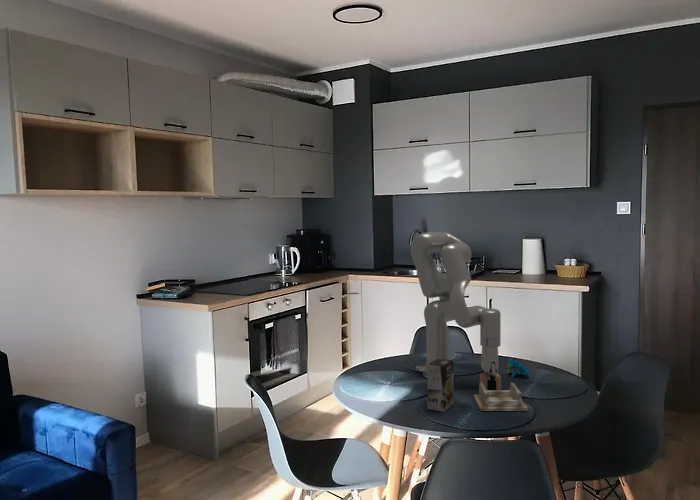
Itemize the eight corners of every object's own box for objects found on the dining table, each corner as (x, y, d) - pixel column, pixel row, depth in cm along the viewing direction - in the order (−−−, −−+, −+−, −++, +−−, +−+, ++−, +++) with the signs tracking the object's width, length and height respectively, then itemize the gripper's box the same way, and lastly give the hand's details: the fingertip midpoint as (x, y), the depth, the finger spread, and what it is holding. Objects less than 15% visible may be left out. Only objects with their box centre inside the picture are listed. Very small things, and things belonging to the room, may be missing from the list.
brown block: (482, 391, 216) (482, 377, 216) (480, 387, 221) (479, 373, 221) (500, 391, 216) (500, 377, 216) (498, 387, 221) (498, 373, 221)
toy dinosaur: (535, 374, 231) (519, 358, 229) (527, 386, 229) (511, 370, 227) (519, 370, 241) (503, 356, 239) (511, 382, 239) (495, 367, 237)
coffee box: (444, 412, 195) (444, 366, 194) (427, 409, 199) (426, 363, 197) (454, 404, 203) (454, 359, 202) (437, 401, 206) (437, 357, 205)
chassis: (480, 411, 195) (480, 394, 195) (473, 397, 209) (473, 381, 209) (527, 411, 194) (527, 394, 194) (517, 397, 208) (517, 381, 208)
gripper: (476, 336, 226) (476, 381, 227) (484, 346, 209) (484, 395, 210) (495, 336, 225) (495, 380, 227) (505, 346, 209) (505, 395, 210)
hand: (490, 387), depth 219 cm, fingers closed on brown block, 5 cm apart
